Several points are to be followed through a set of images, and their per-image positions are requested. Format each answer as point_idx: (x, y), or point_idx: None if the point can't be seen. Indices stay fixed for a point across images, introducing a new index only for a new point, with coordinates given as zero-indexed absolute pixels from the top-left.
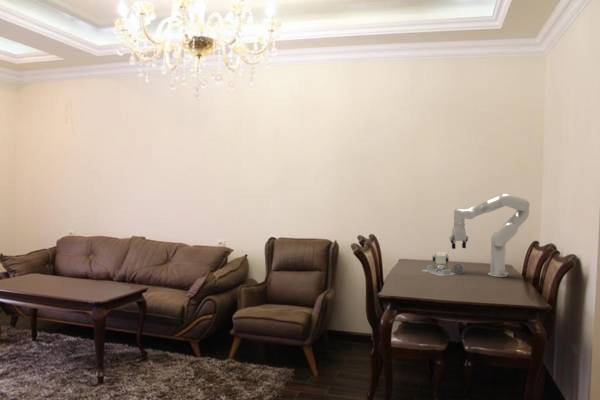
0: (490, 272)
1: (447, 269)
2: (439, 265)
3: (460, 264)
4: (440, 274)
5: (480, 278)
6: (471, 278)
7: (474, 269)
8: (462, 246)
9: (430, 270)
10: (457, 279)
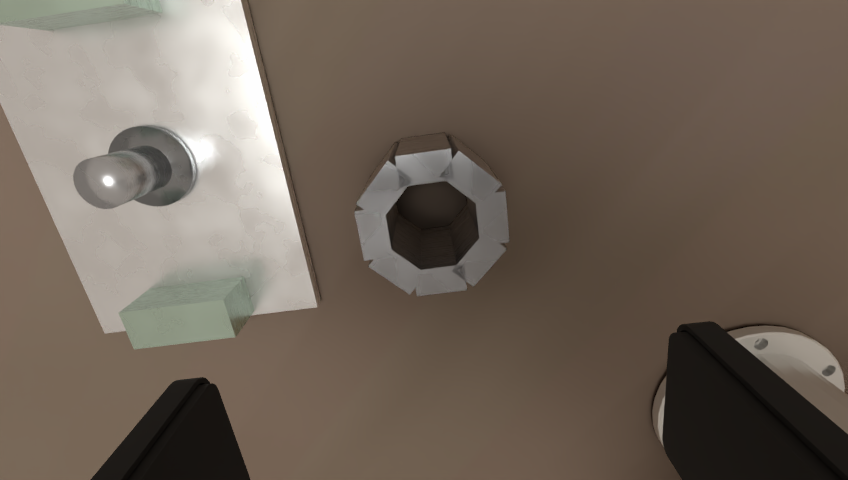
0: (747, 341)
1: (191, 326)
2: (114, 180)
3: (478, 212)
4: (113, 329)
5: (463, 475)
6: (380, 464)
7: (837, 3)
8: (700, 376)
9: (63, 63)
10: None
